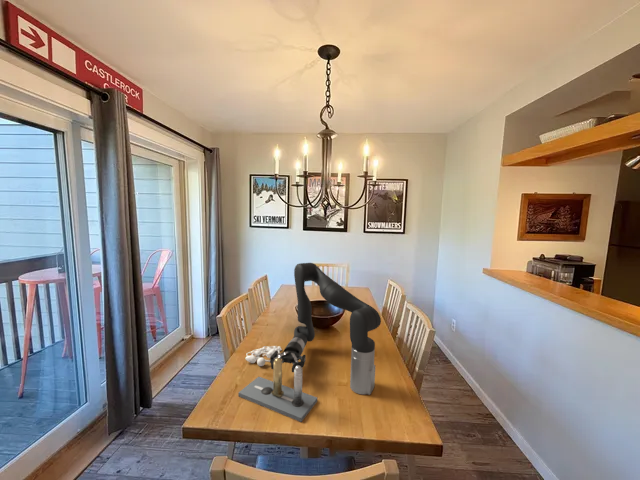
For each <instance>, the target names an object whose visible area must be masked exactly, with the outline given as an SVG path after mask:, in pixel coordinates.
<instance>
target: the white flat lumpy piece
mask: <svg viewBox="0 0 640 480" xmlns="http://www.w3.org/2000/svg"><path fill="white" fill-rule="evenodd" d="M282 350H283V349H282V347H281V345H279V346H277V345H271V346H266V345H265V346H262V347H261V348H257V349H252V351H249V352H246V355H245V356H246V357H245V358H244V359H245V361H246V362H249V363H250V364H254V363H257V366H258V367H263V366H264V365H265V364H266V363H267V362H268V363H270V357H271V356H272V355H273V353H274V352H275V351H278V353H281V352H280V351H282ZM248 354H251V355H248ZM261 355H262V357H261ZM265 356H266V358H267V359H265V358H264V357H265Z"/></svg>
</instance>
